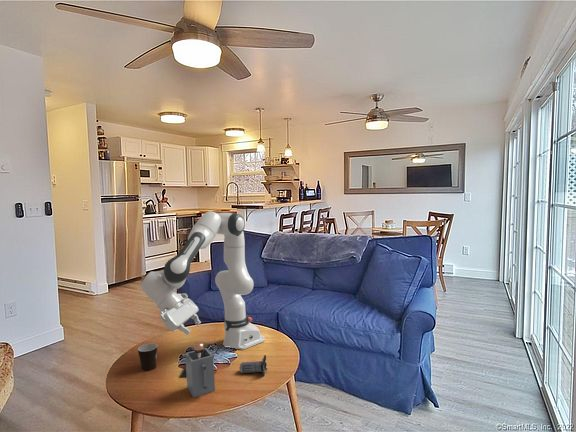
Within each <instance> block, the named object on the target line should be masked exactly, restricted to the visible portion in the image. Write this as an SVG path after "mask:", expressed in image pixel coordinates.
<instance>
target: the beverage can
mask: <svg viewBox="0 0 576 432" xmlns="http://www.w3.org/2000/svg"><path fill="white" fill-rule="evenodd" d="M266 360H267V356H266V354H265V355H263V357H262V360H261V361H246V362H241V363H239V372H240V373H242V374H245V373H246V374H247V373H249V374H250V373H261V374H262V377H265V374H266V370H268V368H267V362H266Z"/></svg>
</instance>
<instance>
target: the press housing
mask: <svg viewBox="0 0 576 432" xmlns="http://www.w3.org/2000/svg"><path fill="white" fill-rule="evenodd" d="M184 356H185V365H186V375H187V377H186V388H187V390H188V391H189V394H190V395H191V396H192V398H197V397H201V396H203V395H207V394H209V393H213V392H215V391H216V386H215V384H216V383H215V381H216V380H215V365H214V364H215V362H214V360H215V359H214V355H213V354H212V352H211V351H210V350H209V349H208V348H207V347H203V352H201V358H200V359H198V353H195V351H194V350H192V351H189V352H186V353H185V355H184Z"/></svg>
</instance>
